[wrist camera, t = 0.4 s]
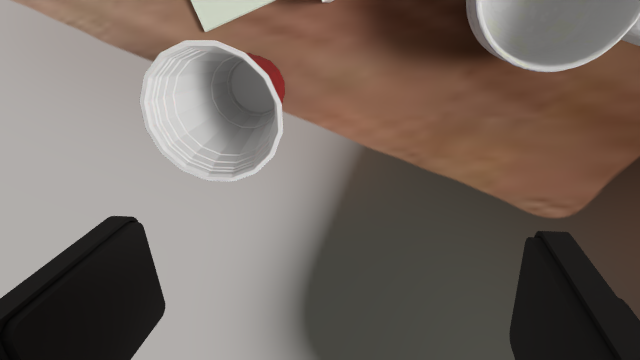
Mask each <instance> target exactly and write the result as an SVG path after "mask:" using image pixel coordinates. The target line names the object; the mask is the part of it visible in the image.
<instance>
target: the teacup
mask: <svg viewBox="0 0 640 360" xmlns="http://www.w3.org/2000/svg"><path fill="white" fill-rule="evenodd" d="M466 11H467V18H468V21H469V24H470V27H471V30H472V32H473V34H474V35H475V37H476V39H477V40H478V41H479V43H480V44H481V45H482V46H483V47H484V48H485V49H486V50H487V51H489V52H490V53H491V54H493V55H494V56H496V57H498V58H500V59H502V60H504V61H507V62H509V63H511V64H513V65H514V66H517V67H520V68H523V69H527V70H531V71H540V72H557V71H562V70H566V69H570V68H575V67H578V66H580V65H583V64H585V63H588V62H589V61H591V60H594V59H596V58H597V57H599V56H600V55H602V54H603V53H605V52H606V51H607V50H609V49H610V48H611V47H612V46H613V45H615V44H616V43H617V42H618V41H619V40H620V39H621V40H624V41H626V42H629V43H632V44H635V45H638V46H640V0H466Z"/></svg>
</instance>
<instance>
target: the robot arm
mask: <svg viewBox="0 0 640 360" xmlns="http://www.w3.org/2000/svg"><path fill="white" fill-rule="evenodd" d="M164 311H165V301H164V297H163V294H162V290H161V286H160V283H159V279H158V276H157V273H156V269H155V266H154V262H153V258H152V255H151V252H150V248H149V244H148V241H147V237H146V234H145V230H144V227H143V225H142V224H141V223H139V222H138V220H137V219H136V218H134V217H127V216H111V217H109V218H107V219H106V220H104V221H103V222H102V223H100V224H99V225H98V226H96V227H95V228H94V229H92V230H91V231H90V232H88V233H87V234H86V235H84V236H83V237H82V238H80V239H79V240H78V241H76V242H75V243H74V244H72V245H71V246H70V247H68V248H67V249H66V250H64V251H63V252H62V253H60V254H59V255H58V256H56V257H55V258H54V259H52V260H51V261H50V262H49V263H47V264H46V265H45V266H43V267H42V268H40V269H39V270H38V271H37V272H35V273H34V274H32V275H31V276H30V277H28V278H27V279H26V280H24V281H23V282H22V283H20V284H19V285H18V286H16V287H15V288H14V289H13V290H11V291H10V292H8V293H7V294H6V295H5V296H3V297H2V298H1V299H0V360H131V358H132V357H133V356H134V354H135V353H136V351H137V350H138V349H139V347H140V346H141V345H142V343H143V342H144V341H145V339H146V338H147V337H148V335H149V334H150V333H151V331H152V330H153V328H154V327H155V326H156V325H157V323H158V322H159V320H160V319H161V317H162V316H163V314H164ZM510 344H511V348H512V351H513V354H514V357H515V360H640V321H639V319H638V318H637V316H636V315H635V314H634V313H633V311H632V310H631V309H630V308H629V306H628V305H627V304H626V303H625V302H624V301H623V300H622V299H620V298H618V297H617V296H616V295H615V294H614V292H613V291H612V289H611V288H610V287H609V285H608V284H607V283H606V281H605V280H604V279H603V277H602V276H601V275H600V274H599V272H598V271H597V269H596V268H595V267H594V266H593V264H592V263H591V261H590V260H589V259H588V257H587V256H586V255H585V254H584V252H583V251H582V249H581V248H580V247H579V245H578V244H577V242H576V241H575V240H574V238H573V237H572V236H571V235H570V234H569V233H568V232H551V231H538V232H537V233H536V235H535V237H534V238H533V237H528V238H527V239H526V242H525V247H524V252H523V258H522V264H521V270H520V275H519V281H518V287H517V292H516V298H515V304H514V309H513V315H512V320H511V326H510Z"/></svg>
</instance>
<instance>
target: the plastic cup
mask: <svg viewBox="0 0 640 360" xmlns="http://www.w3.org/2000/svg"><path fill="white" fill-rule="evenodd" d="M284 95H285V88H284V80H283V78H282V76H281V73H280V71H279V70H278V69H277V67H276V66H275V65H274V64H273V63H272V62H271V61H269V60H267V59H265V58H262V57H260V56H256V55H252V54H250V53H244V52H242V51H240V50H237V49H235V48H232V47H230V46H228V45H225V44H223V43H221V42H218V41H216V40H185V41H183V42H181V43H179V44H177V45H175V46H173V47H171V48H169V49H167V50H165V51H163V52H161V53H160V54H159V55H158V57H157V58H156V59H155V61H154V62H153V63H152V65H151V66H150V68H149V69H148V70H147V72H146V73H145V74H144V80H143V85H142V90H141V96H140V106H141V110H142V114H143V119H144V124H145V128H146V130H147V132H148V133H149V135H150V137H151V138H152V140H153V141H154V143H155V145H156V146H157V148H158V149H159V151H160V152H161V153H162V154H163V155H164V156H165V157H166V158H168V159H169V160H170V161H171V162H173V163H174V164H175V165H176V166H177V167H178V168H180V169H181V170H182V171H184V172H187V173H190V174H192V175H195V176H197V177H200V178H202V179H205V180H207V181H236V180H239V179H241V178H244V177H247V176H250V175H252V174H255V173H257V172H258V171H259V170H260V169H261V168H262V167H263V166H264V165H265V164H266V163H267V162H268V161H269V160H270V159H271V158H272V157H273V156H274V154H275V152H276V149H277V147H278V144H279V141H280V138H281V136H282V133H283V120H282V102H283V98H284Z"/></svg>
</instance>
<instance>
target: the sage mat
mask: <svg viewBox="0 0 640 360" xmlns="http://www.w3.org/2000/svg"><path fill="white" fill-rule="evenodd" d="M273 1H276V0H191V2H192V4H193V7H194V9H195V11H196V13H197V15H198V17H199V20H200V22H201V24H202V26H203V28H204V31H205V32H208V31H210V30H212V29H215V28H217V27H219V26H221V25H223V24H225V23H228V22H230V21H232V20H234V19H236V18H239V17H241V16H243V15H245V14H247V13H249V12H252V11H254V10H256V9H258V8H260V7H263V6H265V5H267V4H269V3H271V2H273Z"/></svg>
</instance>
